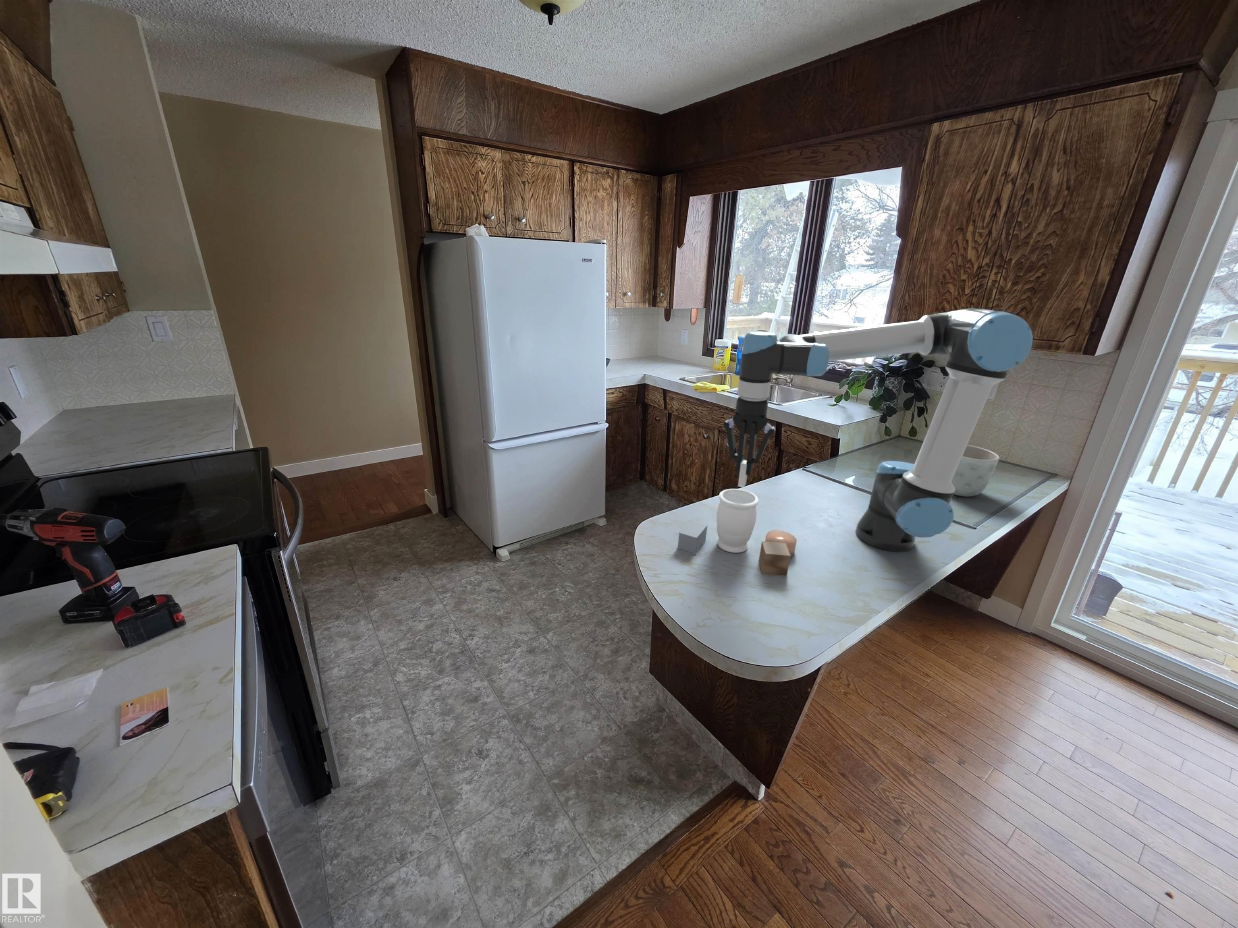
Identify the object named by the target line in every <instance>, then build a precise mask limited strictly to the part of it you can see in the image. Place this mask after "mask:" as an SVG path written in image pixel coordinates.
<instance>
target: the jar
mask: <svg viewBox="0 0 1238 928" xmlns="http://www.w3.org/2000/svg"><path fill="white" fill-rule="evenodd" d="M718 499H719V503H718V506H717V511H716V533H717V536H718V539H717V541H716V544H717V546H718V547H719V548H720V549H721V550H722V551H725V552H728V553H733V554H737V553H743V552H745V551H747V549H748V547H749V546H748V542H749V541H750V539H751V537H752V535H753V531H754V528H755V526H756V525H755V524H756V521H757V506H758V504H759V497H758V496H757V495H756V494H755V493H753V492H751V491H749V490H746V489H745V490H744V489H742V488H729V489H727V488H726V489H723V490H722V491H720V492H719V495H718Z"/></svg>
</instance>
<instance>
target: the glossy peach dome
mask: <svg viewBox="0 0 1238 928" xmlns="http://www.w3.org/2000/svg"><path fill="white" fill-rule="evenodd" d="M764 541H765V542H777V543H786V545H787V548H788V550H789V553H790V555H791V556H790V558H792V557H793V556H794V555H795V551H796V546H797V542H798V541H797V538H796V536H795V535H793V534H791V533H789V532H787V531H784V530H771V531H770V530H769V531H768V532H767V533H766V534H765V539H764Z"/></svg>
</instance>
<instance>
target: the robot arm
mask: <svg viewBox="0 0 1238 928" xmlns="http://www.w3.org/2000/svg"><path fill="white" fill-rule="evenodd" d="M920 317H921V316H920ZM1033 337H1034V336H1033V332H1032V329H1031V328H1030V325H1029V324H1028V322H1026V321H1025V320H1024V319H1023V318H1022V317H1020V316H1018V315H1015V314H1012V313H1010V312H1007V311H1002V310H1001V311H999V310H997V311H996V310H992V309H984V308H979V307H978V308H977V307H971V308H964V309H957V310H952V311H947V312H941V313H940V312H939V313H934V314H926V315H922V317H921V318H920V319H919V320H913V321H905V322H896V323H888V324H881V325H880V324H879V325H872V326H864V327H857V328H856V327H854V328H849V329H848V328H847V329H840V330H831V331H823V332H814V333H806V334H799V335H798V334H795V333H792V334H791V333H789V334H788V333H787V334H786V335H783V336H782V337H780V338H779V339H778V335H777V334H776V333H774V332H768V331H767V332H766V331H750V332H747V333H746V334H745V336H744V338H743V345H742V350H741V359H740V366H739V367H740V368H739V377H738V385H737V386H738V387H737V396H738V397H736V404H735V412H734V415H732V416H733V417H732V418H730V419H726V420H725V421H724V422H723V427H724V429H725V431H726V437H727V443H728V444H727V445H728V451H729V458H730V459H732V460H735V461H736V466H735V468H736V469H735V473H736V474H739V476H738V482H737V483H738V484H737V487H740V488H745V486H746V484H747V479H748V476H750V475H751V474H752V472H753V464H758V463H759V462H761V460H762V457H763V454H764V452H765V450H766V448H767V444H768V442H769V441H770V438H771V436H772V435H773V434H774V433H775V431H776V430H777V428H776V427H775V426H774V425H773V426H772V425H771V424H770V423H769V421H768V417H767V413H768V408H769V407H768V406H769V399H768V398H769V397H770V392H771V384H772V377H773V375H784V376H787V375H788V376H799V377H800V376H802V377H807V378H810V377H822V376H824V374H825V373H826V372H827V369H828V365H829V362H835V361H836V362H837V361H847V360H855V359H863V358H873V357H882V356H884V357H885V356H892V355H900V354H901V355H903V354H909V353H910V354H911V353H919V354H921V355H922V356H930V355H933V356H934V355H939V356H948V358H947V362H946V364H945V366H944V367H945V370H946V371H947V373H948V375H949V376H948V379H947V381H946V384H945V387H944V389H943V392H942V394H941V397H940V399H939V402H938V404H937V408H936V409H935V412H934V415H933V417H932V420H931V421H930V425H929V427H928V429H927V432H926V434H925V436H924V439H923V442H922V444H921V447H920V450H919V452H918V455H917V457H916V460H915V462H914V463H910V462H906V461H898V460H897V461H896V460H887V461H886V460H885V461H882V462H881V463H880V464H879V465H878V467H877V471H876V472H875V479H874V483H873V487H872V490H871V494H870V495H871V496H870V498H869V504H868V508H867V509H866V511H865V512H864V514H863V515H862V517H861V518H860V520H858V522H857V524H856V529H855V534H856V536H857V537H858V538H859V539H860V540H861V541H862V542H864V543H866V544H867V545H870V546H872V547H874V548H877V549H880V550H885V551H889V552H907V551H910V550H912V549H913V547H914V546H915V545H914V544H915V541H916V538H926V539H928V538H932V537H935V536H936V535H940V534H943V533H944V532H945V531H946V530H948V529H949V528H950V526H951V525H952V523H953V520H954V516H955V514H954V513H955V512H954V509H953V507H952V505H951V504H950V503H951V501H952V499H953V497H954V492H955V487H954V486H953V484H952V478H953V476H954V474H955V471H956V469H957V467H958V465H959V462H960V460H961V458H962V455H963V453H964V451H965V449H966V446H967V445H969V441H970V440H971V437H972V435H973V432H974V430H975V428H976V425H977V423H978V421H979V418H980V416H981V414H982V412H983V409H984V407H985V404H986V402H987V400H988V399H989V395H990V393H991V391H992V389H993V387H994V385H997V384H999V383H1001V382H1002V381H1005V380H1006V377H1007V375H1008V373H1009V371H1010V370H1011V369H1013V368H1015V367H1016V366H1018V365H1020V364H1021V363H1022V362H1023V361H1024V360H1025V359H1026V358H1027V357H1028V355H1029V354H1030V352H1031V349H1032V346H1033V340H1034V339H1033ZM734 427H736V428H737V430H738V431H739V433H738V437H739V439H738V444H737V443H736V438H735V437H736V436H735V430H734ZM763 429H764V430H763ZM762 430H763V431H764V433H765V434H764V436H763V438H762V440H761V443H760V446H759V448H758V450H757V452H756V443H757V435H758V434H759V433H760V432H761V431H762ZM747 434H748V435H749V440H748V450H747V458H746V459H745V448H746V442H747ZM736 444H737V445H738V446H737V445H736ZM755 452H756V455H755Z"/></svg>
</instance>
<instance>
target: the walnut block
mask: <svg viewBox="0 0 1238 928" xmlns="http://www.w3.org/2000/svg"><path fill="white" fill-rule="evenodd" d="M759 550H760V552H759V558H758V563H759V566H760V567H759V568H760V570H761V573H762V575H770V576H772V575H773V576H780V577H781V576H783V577H787V576H788V571H789V568H790V567H789V566H790V561H791V557H790V556H791V555H790V553H789V550H788V548H787V545H786V543H777V542H765V540H764V541H762V540H761V546H760V549H759Z"/></svg>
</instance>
